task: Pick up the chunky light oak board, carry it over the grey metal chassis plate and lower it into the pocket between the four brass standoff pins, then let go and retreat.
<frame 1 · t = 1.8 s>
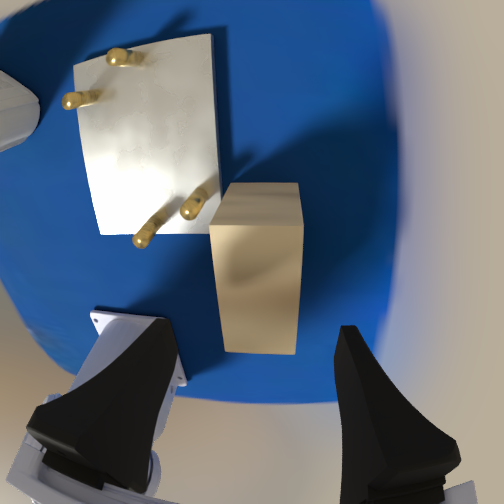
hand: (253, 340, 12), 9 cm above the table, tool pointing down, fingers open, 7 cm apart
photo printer: (6, 97, 15), on the table
chassis: (147, 140, 17), on the table
board: (265, 241, 20), on the table
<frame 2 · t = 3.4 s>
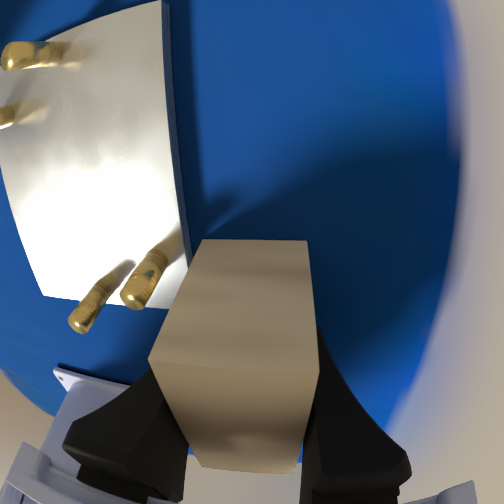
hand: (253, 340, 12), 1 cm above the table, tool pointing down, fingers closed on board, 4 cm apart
chassis: (81, 175, 11), on the table
board: (256, 318, 14), on the table, touching gripper
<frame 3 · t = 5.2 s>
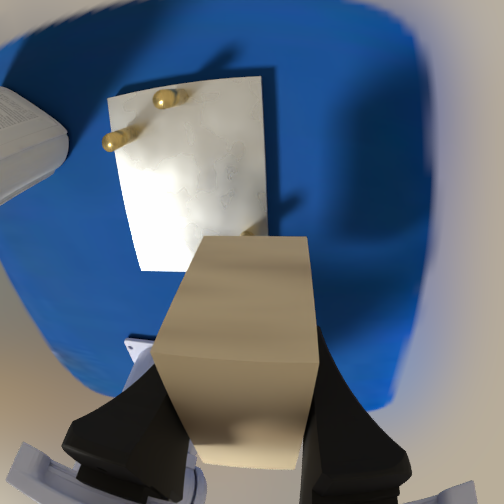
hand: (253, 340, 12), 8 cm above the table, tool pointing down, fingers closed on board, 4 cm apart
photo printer: (28, 124, 17), on the table
chassis: (191, 181, 18), on the table
board: (257, 314, 14), point 7 cm above the table, touching gripper
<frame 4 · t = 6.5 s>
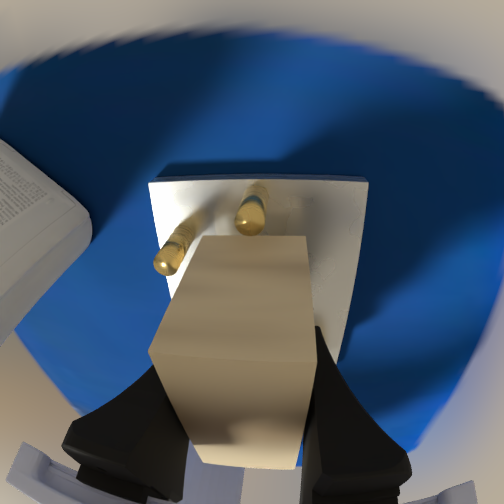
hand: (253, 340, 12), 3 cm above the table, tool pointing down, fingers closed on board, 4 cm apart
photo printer: (32, 190, 14), on the table
chassis: (260, 290, 15), on the table
board: (257, 313, 14), point 2 cm above the table, touching gripper
when the fingers open (3 cm above the table, at t = 7.3 s): board stays where it is, resting on chassis.
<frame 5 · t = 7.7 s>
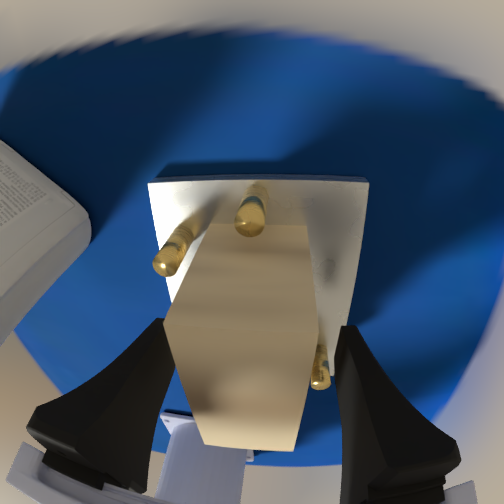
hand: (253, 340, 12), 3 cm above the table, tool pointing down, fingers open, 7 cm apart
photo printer: (31, 190, 14), on the table
chassis: (260, 291, 15), on the table
board: (258, 300, 15), point 1 cm above the table, touching chassis
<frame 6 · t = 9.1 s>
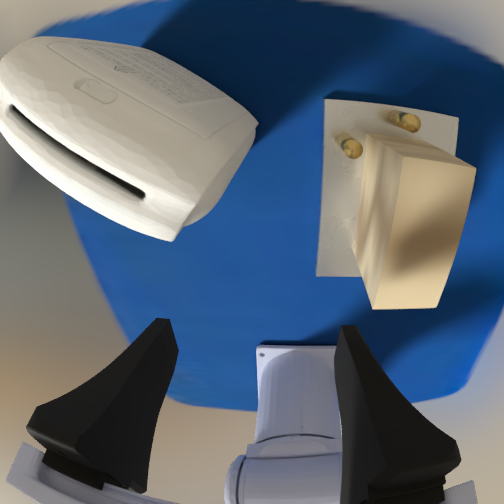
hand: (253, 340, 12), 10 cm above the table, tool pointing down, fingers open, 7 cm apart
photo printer: (183, 102, 17), on the table
chassis: (386, 194, 19), on the table
board: (389, 198, 18), point 1 cm above the table, touching chassis
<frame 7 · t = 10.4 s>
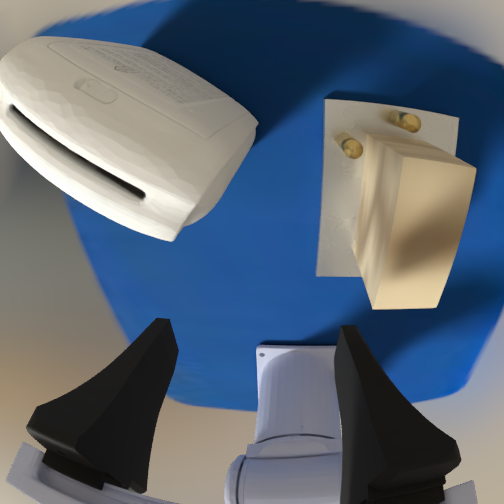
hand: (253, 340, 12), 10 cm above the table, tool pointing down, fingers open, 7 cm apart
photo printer: (183, 102, 17), on the table
chassis: (386, 194, 19), on the table
board: (390, 198, 18), point 1 cm above the table, touching chassis
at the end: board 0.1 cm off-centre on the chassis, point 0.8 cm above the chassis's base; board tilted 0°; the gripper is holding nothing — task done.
